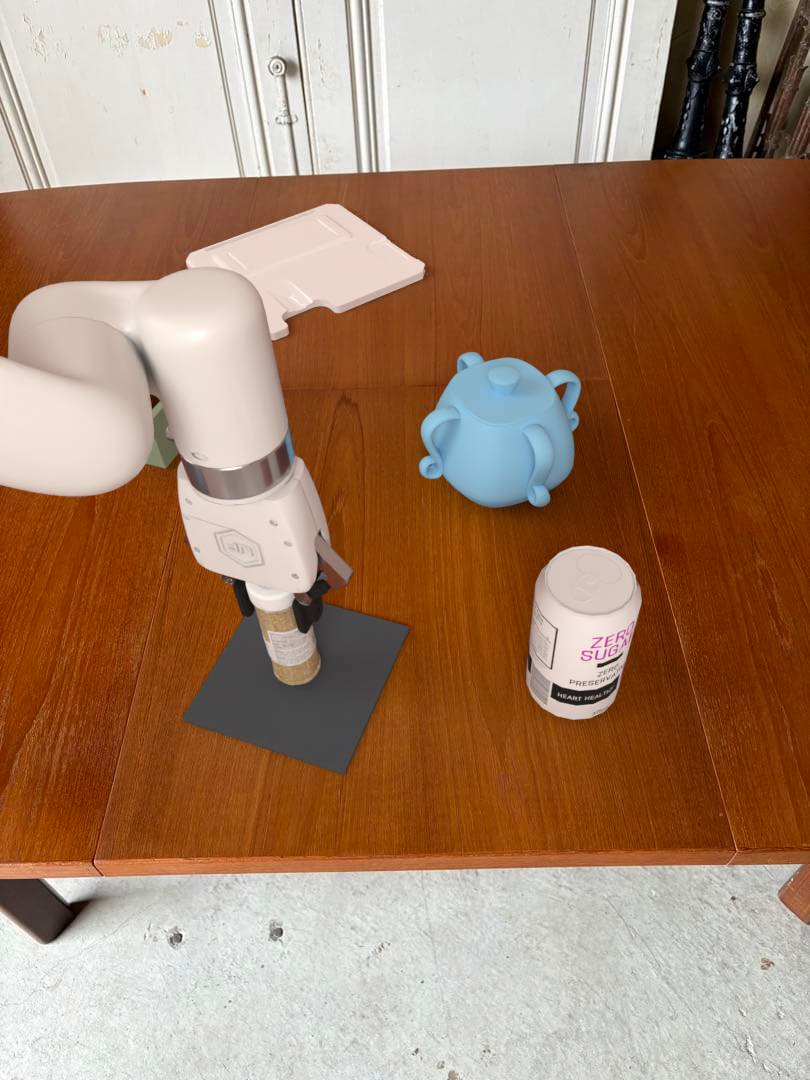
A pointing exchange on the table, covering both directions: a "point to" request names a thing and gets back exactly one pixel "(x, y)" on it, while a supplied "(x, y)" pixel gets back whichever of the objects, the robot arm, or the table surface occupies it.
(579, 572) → the supplement can
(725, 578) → the table surface
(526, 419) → the decorative pot
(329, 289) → the tray
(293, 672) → the sprinkles bottle
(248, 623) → the mat
